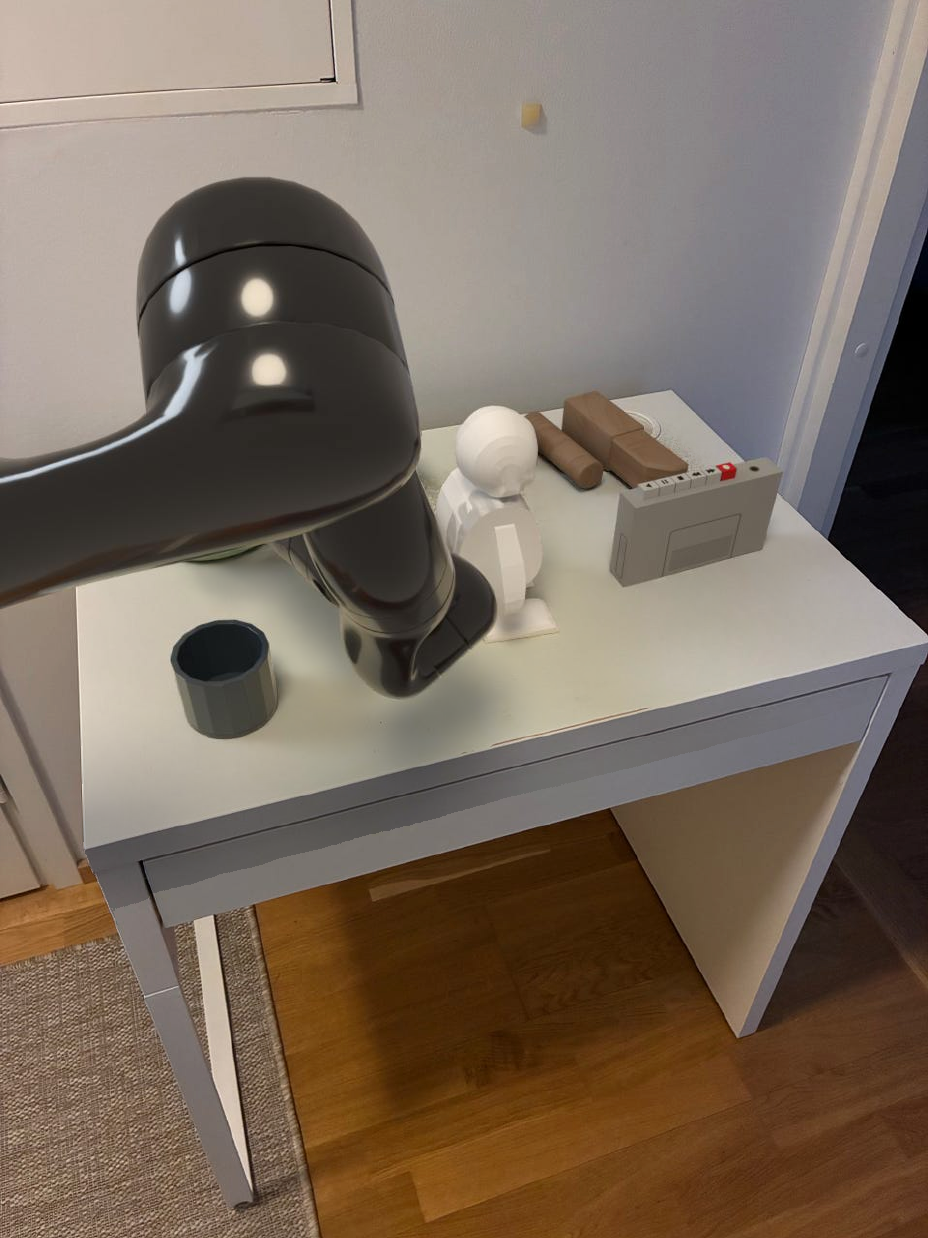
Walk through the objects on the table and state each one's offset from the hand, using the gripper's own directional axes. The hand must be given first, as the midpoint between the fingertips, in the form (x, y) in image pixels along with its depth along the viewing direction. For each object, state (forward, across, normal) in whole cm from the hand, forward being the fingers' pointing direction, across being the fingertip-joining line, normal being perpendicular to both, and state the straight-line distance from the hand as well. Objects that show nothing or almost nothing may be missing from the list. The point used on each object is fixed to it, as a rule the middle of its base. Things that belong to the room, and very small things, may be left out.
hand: (211, 419), depth 84 cm
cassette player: (-26, -35, +15) cm, 46 cm away
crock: (-18, +9, +14) cm, 25 cm away
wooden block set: (-9, -35, +15) cm, 39 cm away
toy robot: (-21, -16, +15) cm, 30 cm away
